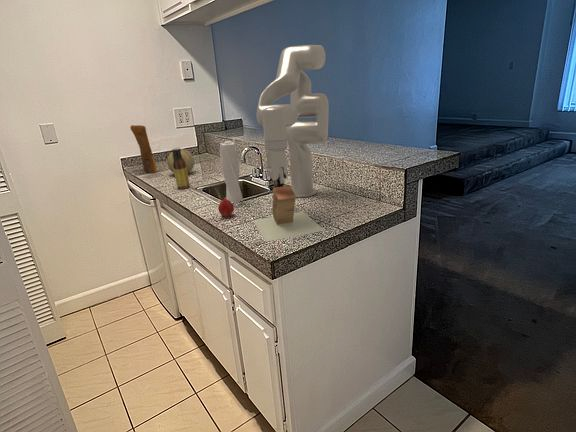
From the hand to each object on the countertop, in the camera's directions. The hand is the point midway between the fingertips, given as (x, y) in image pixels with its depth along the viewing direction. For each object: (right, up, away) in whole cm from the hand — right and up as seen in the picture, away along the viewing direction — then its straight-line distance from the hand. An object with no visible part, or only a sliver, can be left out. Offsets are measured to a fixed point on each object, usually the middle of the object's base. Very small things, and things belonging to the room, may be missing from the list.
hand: (279, 196), depth 128 cm
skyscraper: (-20, -2, +26) cm, 33 cm away
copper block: (+1, -7, +2) cm, 8 cm away
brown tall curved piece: (-82, +20, +93) cm, 126 cm away
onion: (-20, -8, +10) cm, 24 cm away
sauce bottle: (-50, +7, +53) cm, 73 cm away
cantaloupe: (-58, +17, +80) cm, 100 cm away
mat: (+3, -11, -2) cm, 11 cm away
